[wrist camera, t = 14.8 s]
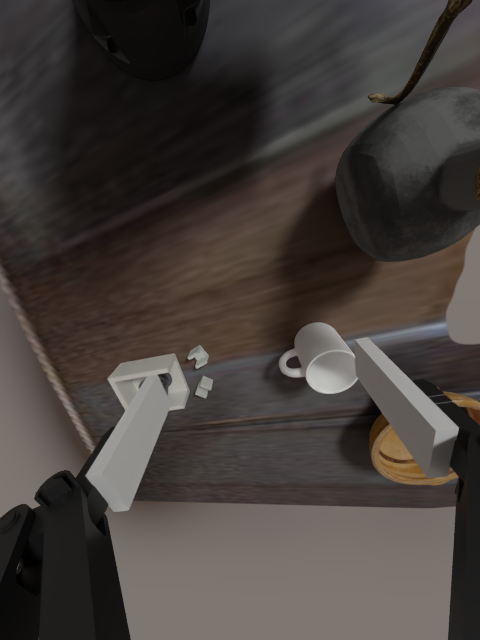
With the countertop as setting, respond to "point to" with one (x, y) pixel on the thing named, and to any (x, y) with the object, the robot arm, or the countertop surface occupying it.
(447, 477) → the ceramic bowl
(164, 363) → the end holder
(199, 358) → the clip
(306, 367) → the mug
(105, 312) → the countertop surface
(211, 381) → the clip
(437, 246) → the pitcher
